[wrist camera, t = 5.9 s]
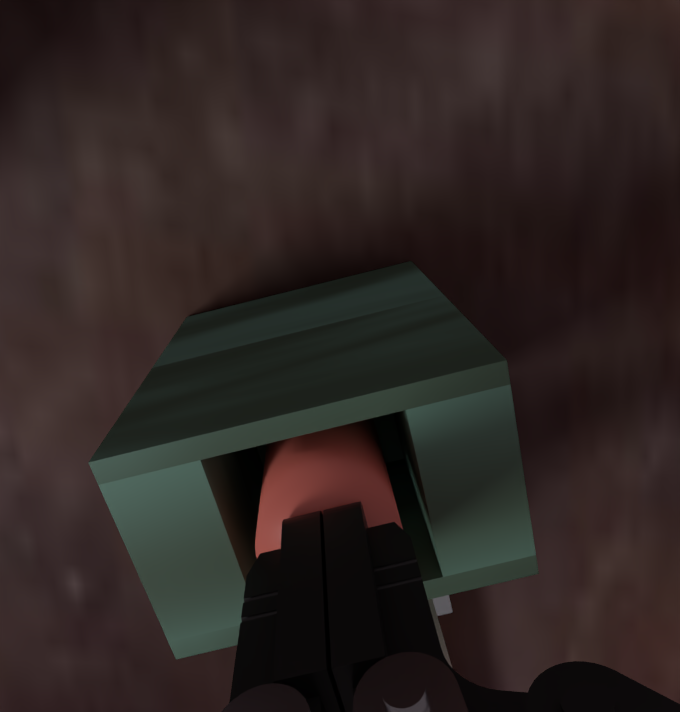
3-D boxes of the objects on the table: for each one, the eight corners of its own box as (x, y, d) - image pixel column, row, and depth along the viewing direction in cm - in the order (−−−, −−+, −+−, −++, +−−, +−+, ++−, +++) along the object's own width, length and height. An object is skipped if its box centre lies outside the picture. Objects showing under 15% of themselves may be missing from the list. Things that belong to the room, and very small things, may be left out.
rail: (187, 317, 20) (88, 462, 11) (411, 261, 20) (506, 360, 11) (352, 798, 29) (376, 1110, 20) (510, 761, 29) (611, 1059, 19)
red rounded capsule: (256, 392, 15) (236, 501, 11) (360, 366, 15) (387, 464, 11) (285, 482, 16) (277, 618, 12) (383, 458, 16) (416, 585, 11)
